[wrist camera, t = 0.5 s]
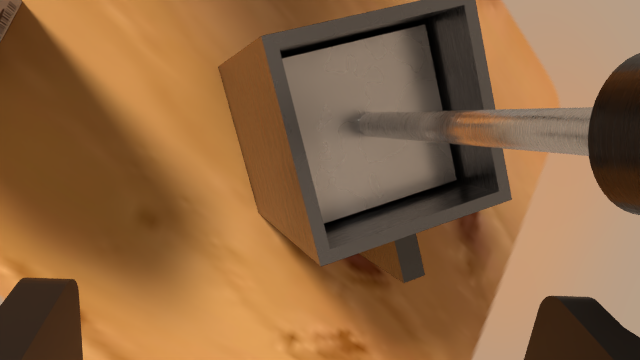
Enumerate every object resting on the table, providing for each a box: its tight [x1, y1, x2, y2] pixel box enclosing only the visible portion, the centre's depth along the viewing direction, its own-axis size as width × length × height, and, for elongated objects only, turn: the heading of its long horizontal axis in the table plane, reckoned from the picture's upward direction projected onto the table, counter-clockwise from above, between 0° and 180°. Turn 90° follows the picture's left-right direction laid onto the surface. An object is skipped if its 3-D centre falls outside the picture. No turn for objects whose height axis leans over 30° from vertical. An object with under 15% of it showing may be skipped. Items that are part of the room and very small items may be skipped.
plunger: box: [282, 25, 640, 223], centre depth 18 cm, size 8×8×21 cm
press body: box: [218, 0, 512, 283], centre depth 31 cm, size 13×10×14 cm
